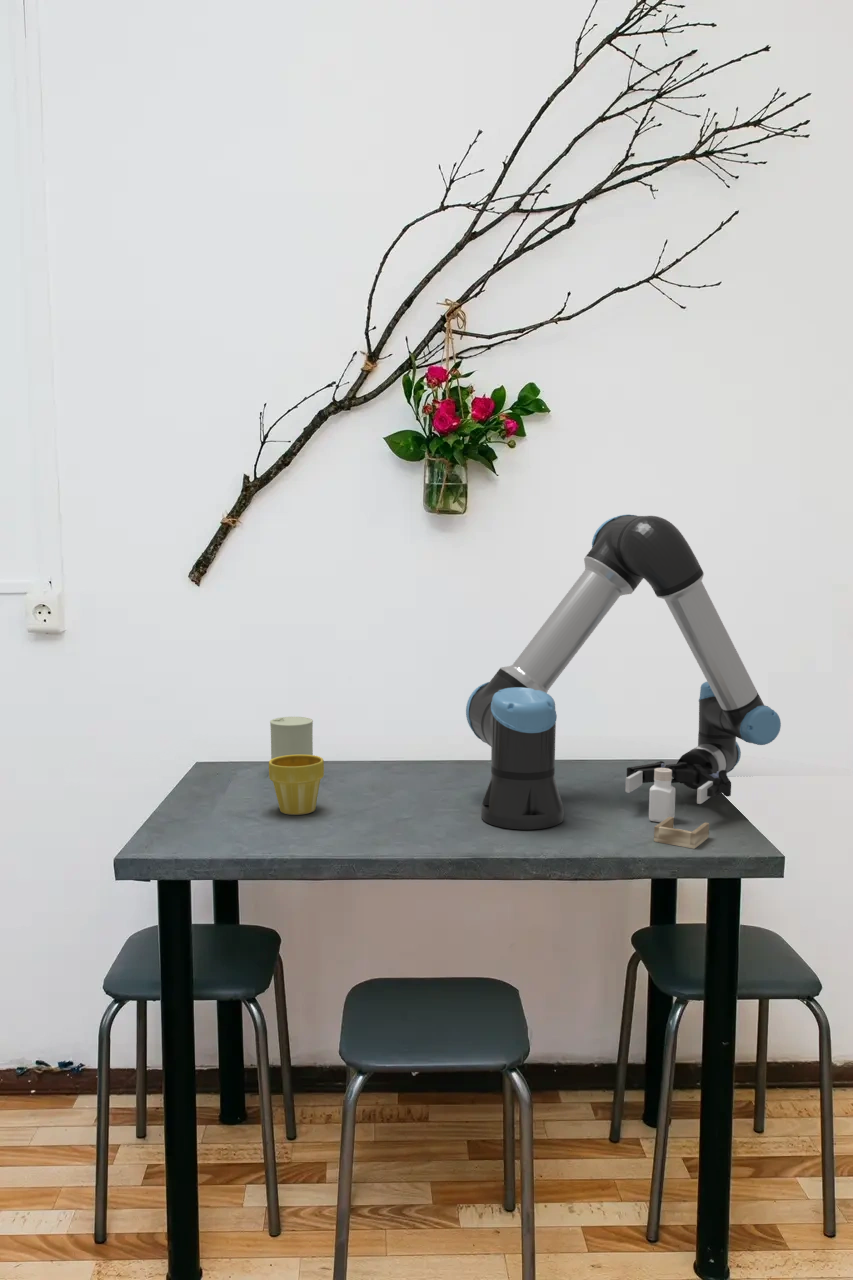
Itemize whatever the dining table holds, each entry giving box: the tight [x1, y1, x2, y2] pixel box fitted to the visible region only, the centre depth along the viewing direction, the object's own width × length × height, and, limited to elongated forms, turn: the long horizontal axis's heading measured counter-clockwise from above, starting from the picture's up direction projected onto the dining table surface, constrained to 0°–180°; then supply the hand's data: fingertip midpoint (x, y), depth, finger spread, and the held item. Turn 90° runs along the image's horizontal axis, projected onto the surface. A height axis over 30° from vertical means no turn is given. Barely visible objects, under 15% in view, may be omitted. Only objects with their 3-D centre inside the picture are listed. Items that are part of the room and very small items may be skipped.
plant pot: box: [268, 754, 325, 816], centre depth 201 cm, size 10×10×10 cm
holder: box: [653, 817, 710, 850], centre depth 184 cm, size 7×7×3 cm
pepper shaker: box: [648, 768, 676, 823], centre depth 195 cm, size 4×4×10 cm
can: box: [269, 716, 314, 760], centre depth 229 cm, size 9×9×12 cm
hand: (662, 790), depth 194 cm, fingers open, 13 cm apart
